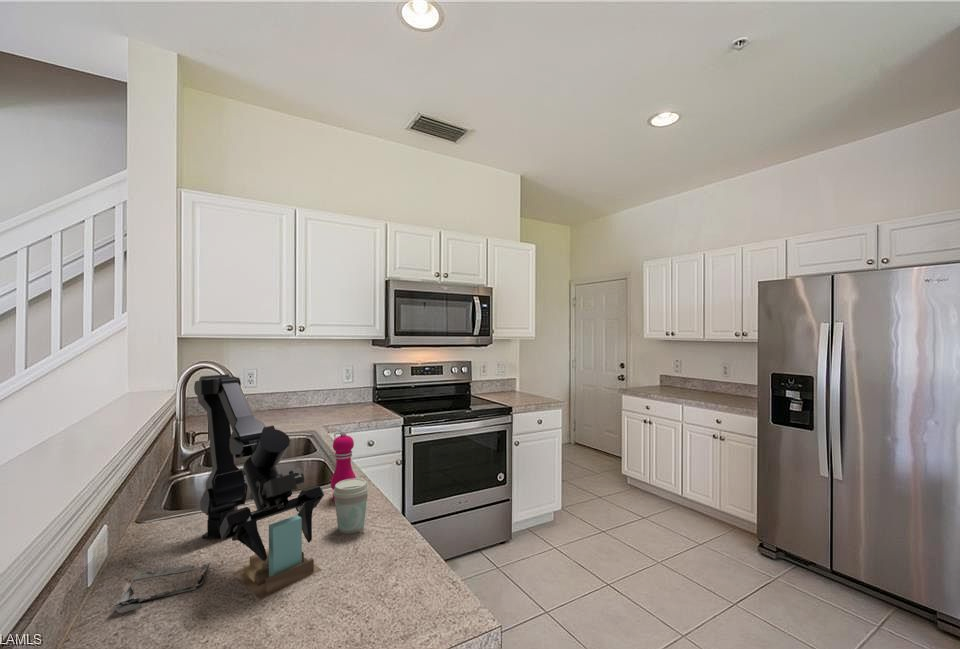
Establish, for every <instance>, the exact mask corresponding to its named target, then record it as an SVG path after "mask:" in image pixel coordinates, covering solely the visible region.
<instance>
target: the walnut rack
mask: <svg viewBox="0 0 960 649" xmlns="http://www.w3.org/2000/svg"><path fill="white" fill-rule="evenodd" d="M322 571H323V569H322V568H320V567H319V566H317V564H315V559H314V558H312V557H311V558H309V559H307V558H306V557H305V553H304V551H302V563H300V564H297V565H295V566H293V567H291V568H288V569H286V570H284V571H282V572H279V573H277V574H275V575H273V576H270V577H269V566H267V567H264V568H262V569H260V570H257V571H256V581H255V582H253V581H252V580H251V579H250V578H249V577H248V576H247V575H246V574H245V573H244V568H242V569H240V570H237V571H235V572H232V575H233V576H235V578H236V579H237V580H239V582H240V583H242V584H243V585H244V586H245V587H246V588H247V589H248V590H249V591H250V592H251V593H252V594H253V595H254V596H255V597H256V598H257V599H258V600H260V601H261V600H263V599H265V598H266V597H269V596H271V595H273V594H275V593H278V592H280V591H283V589H286V588H288V587H290V586H291V585H294V584H296V583H298V582H301V581H303V580H305V579H307V578H308V577H311V576H313V575H315V574H317V573H320V572H322Z"/></svg>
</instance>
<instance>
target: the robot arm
mask: <svg viewBox="0 0 960 649" xmlns="http://www.w3.org/2000/svg"><path fill="white" fill-rule="evenodd" d="M241 384H242V382H241V378H240V377H238V376H230V374H227V373H226V374H215V375H214V374H212V375H201V376H200V377H199V379H198V380H195V381H194V384H193V386H194V387H193V391H194V393H195V394H194V395H196V396H197V403H198V404H199V405H200V406H201V407H202V408H203V409H204V410H205V411H206V416H207V427H208V435H209V446H210V456H211V457H210V458H211V466H212V469H211V472H210V474H209V475H208V478H207V480H206V482H205V489H204V492H203V494H202V496H201V498H200V501H199V505H200V511H201V512H202V513H203V514H205V516H207V522H206V523H207V524H206V525H207V527H206V528H207V529H206V530H207V532H205V533H204V534H202V535H201V538H202V539H221V541H225V540H226V541H227V540H229V539H231V540H232V542H235V541H238V542H240V543H241V544H243V545H244V546H245V547H247V548H248V549H250V550H251V551H252V552H253V553H254V554H256V555H257V556H259V557H260V558H261V559H262V560H263V561H265V560H266V559H267V554H266V550H265V549H266V548H265V546H264V543H263V540H262V537H261V535H260V533H259V530H258V521H260V520H261V521H262V520H264V519H268V518H270V517H273V516H276V515H279V514H282V513H285V512H288V511H291V510H293V509H296V510H295V511H296V512H298V513H297V515H298V516H299V517H301V518H302V535H304V538H305V540H306V541H307V542H308V543H311V542H312V540H313V531H312V530H313V520H312V519H313V510H314V509H315V508H317V506H318V504H319V503H320V502H321V500H322V499H323V497H324V496H325V492H324V491H323V489H322V487H321V486H320V485H314V486H310V487H307V488H304V489H301V491H300V492H299V494H298V496H297V497H295V498H292V499H289V498H290V497H292V496H293V491H295V490H298V486H300V485H302V484H304V483H305V476H304V472H303V470H302V468H301V467H298V468H294V469H292V470H290V471H289V472H288V474H286V475H283V474H282V473H280V474H279V471H278V469H277V466H278V464H280V462H281V460H282V458H283V457H284V455H285V453H286V451H287V449H288V448H289V446H290V442H291V441H290V436H289V435H288V434H287V433H285V432H284V431H282V430H280V429H277V428H275V425H268V426H266V425H265V423H264V422H263V421H261V420H259V419H257V418H255V416H254V414H253V411H252V409H251V407H250V406H249V404H248V401H247V398H246V396H245V393H244V392H243V390H242V387H241V386H242V385H241ZM231 430H232V431H231ZM234 458H236V459H242V458H247V459H246V461H245V462H244V464H243V465H242V468H243V469H240V468H239V467H238V466H237V465H236V464H235V459H234ZM245 477H246V480H247V481H246V480H245ZM247 483H248V484H247ZM248 487H249V490H250V494H249V497H250V500H254V501H253V502H254V504H255V507H256V510H253V511H252V510H251V508H250V507H248V506H245V507H242V508H239V506H241V505H245V504H246V501H247V495H248ZM238 508H239V509H238Z"/></svg>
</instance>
